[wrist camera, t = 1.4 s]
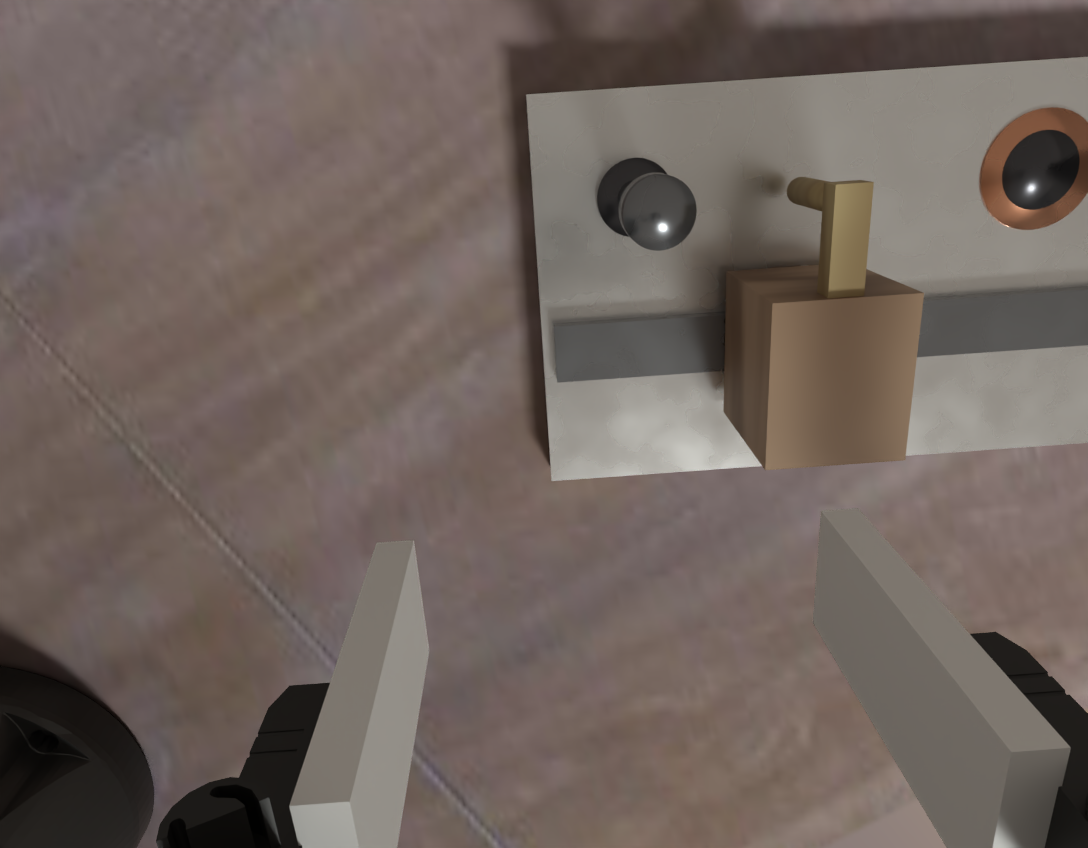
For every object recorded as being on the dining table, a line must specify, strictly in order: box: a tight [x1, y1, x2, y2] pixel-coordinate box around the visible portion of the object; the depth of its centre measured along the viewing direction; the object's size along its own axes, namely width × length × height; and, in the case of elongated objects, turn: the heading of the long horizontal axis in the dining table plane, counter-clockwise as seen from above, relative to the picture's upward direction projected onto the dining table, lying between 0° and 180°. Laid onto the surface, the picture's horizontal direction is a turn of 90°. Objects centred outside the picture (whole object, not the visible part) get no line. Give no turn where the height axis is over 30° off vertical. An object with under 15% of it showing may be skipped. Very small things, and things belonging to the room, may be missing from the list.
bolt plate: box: [526, 57, 1088, 481], centre depth 30 cm, size 26×16×7 cm, turn 93°
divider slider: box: [723, 177, 924, 470], centre depth 29 cm, size 5×10×6 cm, turn 3°
